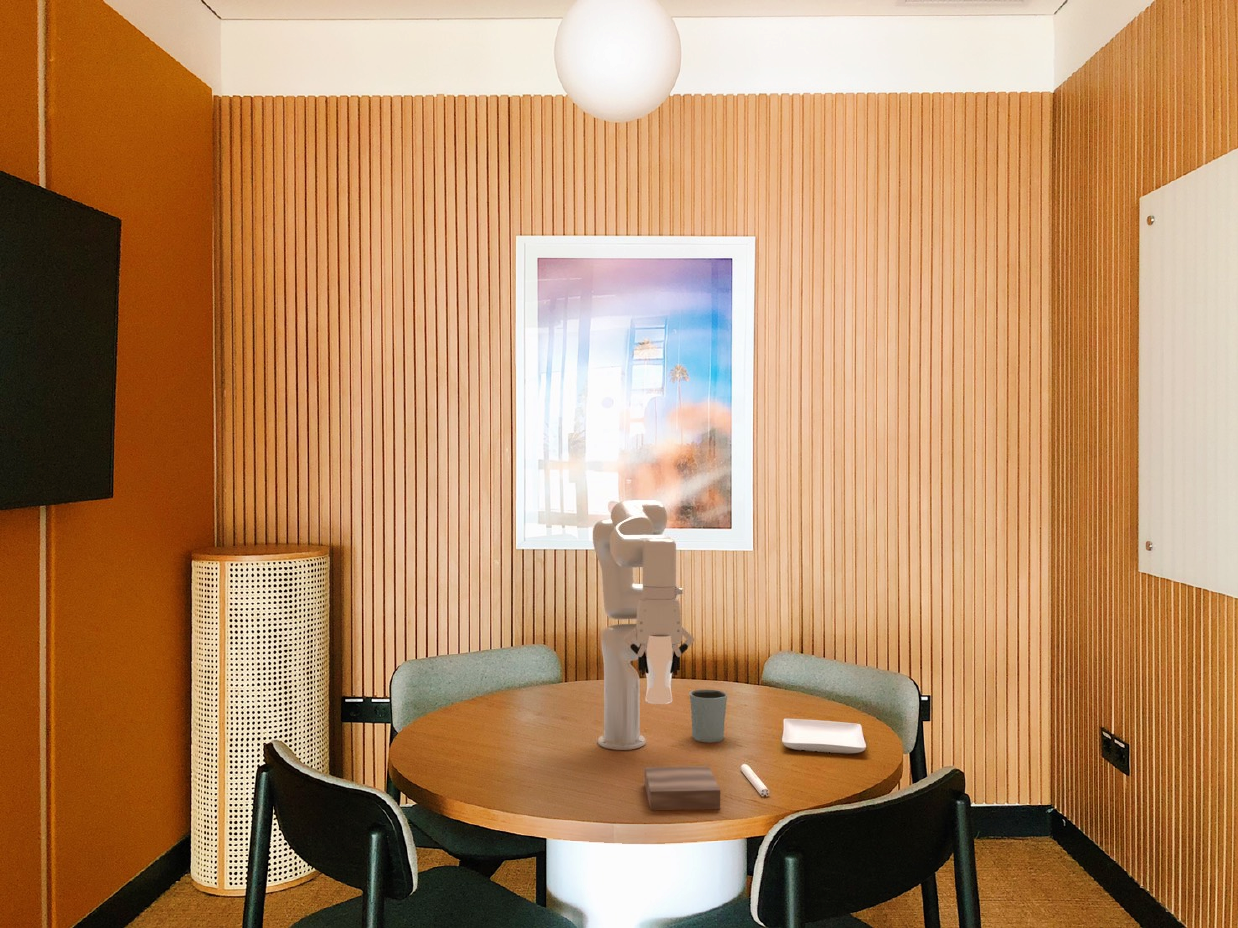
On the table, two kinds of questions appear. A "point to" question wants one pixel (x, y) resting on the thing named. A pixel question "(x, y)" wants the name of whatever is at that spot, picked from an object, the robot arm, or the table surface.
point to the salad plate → (823, 736)
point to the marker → (755, 780)
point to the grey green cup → (708, 715)
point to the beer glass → (659, 669)
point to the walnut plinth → (681, 788)
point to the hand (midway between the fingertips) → (658, 672)
